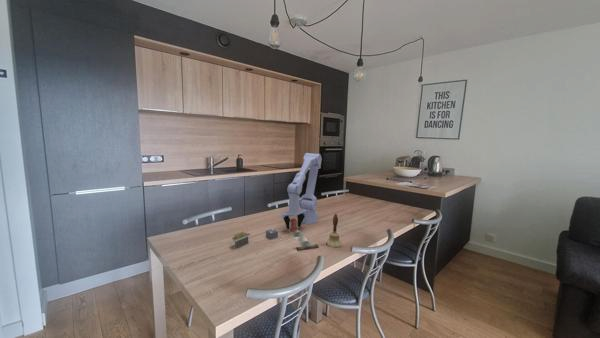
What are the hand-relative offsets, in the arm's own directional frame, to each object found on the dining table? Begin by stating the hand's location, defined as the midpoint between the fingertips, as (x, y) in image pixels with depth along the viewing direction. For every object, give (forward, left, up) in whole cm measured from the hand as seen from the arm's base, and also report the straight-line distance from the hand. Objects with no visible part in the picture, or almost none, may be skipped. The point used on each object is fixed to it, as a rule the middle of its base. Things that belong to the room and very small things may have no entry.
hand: (293, 227), depth 139 cm
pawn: (0, 0, -2) cm, 2 cm away
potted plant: (+30, +7, -3) cm, 31 cm away
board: (0, +9, -3) cm, 9 cm away
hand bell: (-15, +20, -3) cm, 25 cm away
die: (+14, +5, -3) cm, 15 cm away
